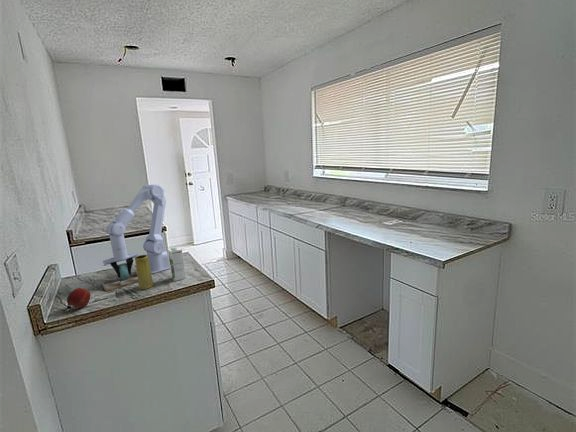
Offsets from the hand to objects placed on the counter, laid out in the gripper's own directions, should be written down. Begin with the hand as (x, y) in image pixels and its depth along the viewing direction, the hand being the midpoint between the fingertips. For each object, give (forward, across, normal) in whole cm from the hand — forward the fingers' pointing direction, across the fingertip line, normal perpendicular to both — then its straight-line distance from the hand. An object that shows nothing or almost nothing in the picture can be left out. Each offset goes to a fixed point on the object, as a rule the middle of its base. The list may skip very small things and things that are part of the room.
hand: (124, 275), depth 142 cm
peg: (+2, 0, 0) cm, 2 cm away
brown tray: (+3, +2, 0) cm, 4 cm away
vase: (+3, -6, +14) cm, 15 cm away
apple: (+3, +19, +14) cm, 24 cm away
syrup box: (+3, -20, +16) cm, 26 cm away
